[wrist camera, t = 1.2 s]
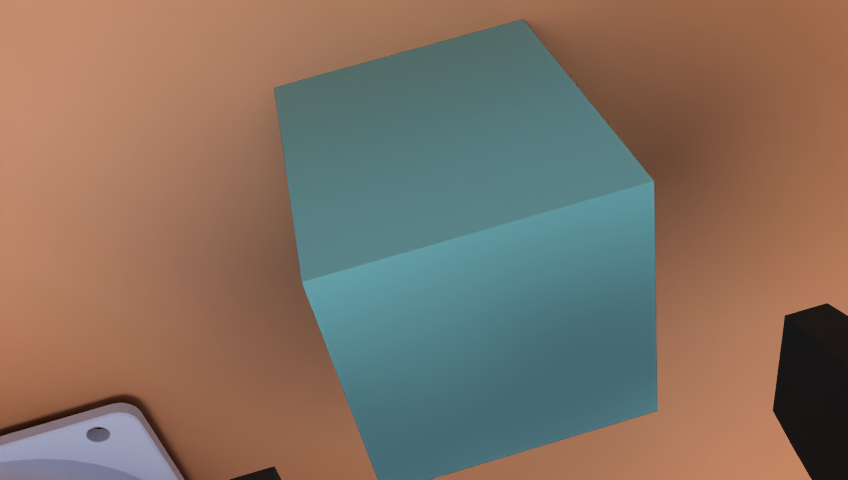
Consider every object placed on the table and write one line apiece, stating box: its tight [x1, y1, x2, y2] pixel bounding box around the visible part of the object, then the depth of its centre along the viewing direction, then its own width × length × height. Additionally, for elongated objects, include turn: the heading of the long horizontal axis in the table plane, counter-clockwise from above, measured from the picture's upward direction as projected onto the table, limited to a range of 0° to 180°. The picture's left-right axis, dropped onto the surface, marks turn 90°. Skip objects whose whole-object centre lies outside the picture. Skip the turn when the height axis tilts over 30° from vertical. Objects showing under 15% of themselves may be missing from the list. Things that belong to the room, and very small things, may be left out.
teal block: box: [274, 19, 657, 480], centre depth 15 cm, size 5×5×6 cm
